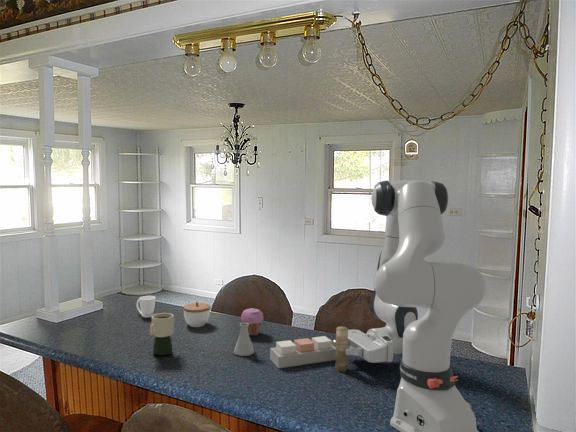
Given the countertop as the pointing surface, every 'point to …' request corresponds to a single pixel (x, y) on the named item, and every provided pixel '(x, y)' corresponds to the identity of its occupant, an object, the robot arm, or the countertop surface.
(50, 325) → the countertop surface
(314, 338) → the ivory key
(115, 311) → the countertop surface
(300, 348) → the terracotta key
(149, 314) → the cup
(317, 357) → the keypad bezel
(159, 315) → the character mug
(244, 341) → the flask
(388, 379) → the countertop surface
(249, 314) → the cupcake
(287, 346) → the ivory key
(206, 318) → the lidded jar
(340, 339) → the tan wooden cylinder
